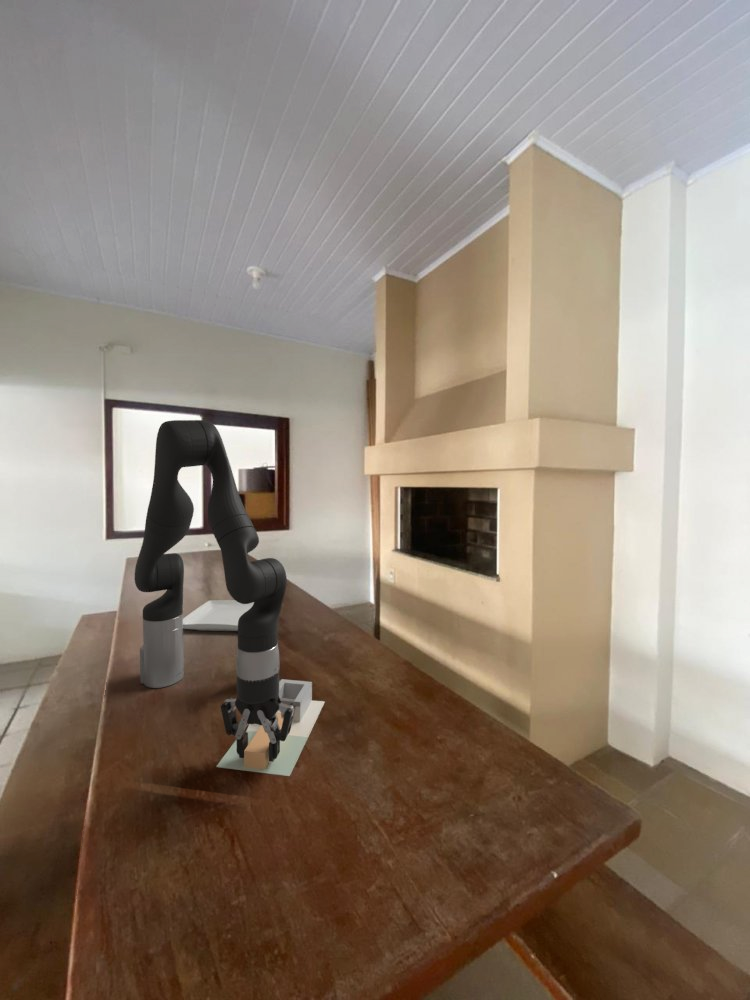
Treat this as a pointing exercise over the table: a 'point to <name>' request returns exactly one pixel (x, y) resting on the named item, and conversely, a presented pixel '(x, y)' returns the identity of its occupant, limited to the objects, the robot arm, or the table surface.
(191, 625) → the square plate
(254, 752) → the tan wooden plank
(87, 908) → the table surface
